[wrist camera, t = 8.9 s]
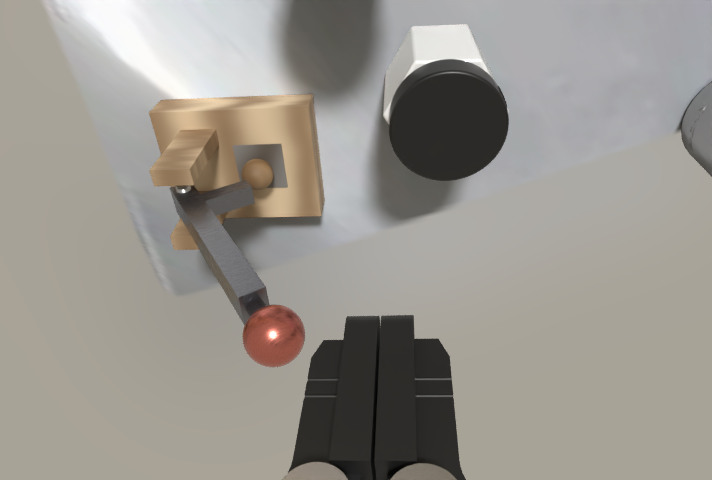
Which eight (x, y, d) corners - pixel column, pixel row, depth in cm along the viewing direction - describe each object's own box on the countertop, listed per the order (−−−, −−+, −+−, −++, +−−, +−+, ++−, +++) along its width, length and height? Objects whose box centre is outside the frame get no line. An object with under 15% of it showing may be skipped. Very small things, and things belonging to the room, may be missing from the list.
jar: (449, 135, 50) (462, 204, 41) (371, 94, 49) (365, 156, 39) (508, 48, 45) (539, 101, 36) (424, -1, 44) (432, 41, 34)
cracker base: (312, 94, 49) (294, 145, 40) (324, 199, 55) (311, 263, 47) (161, 100, 50) (112, 151, 41) (189, 202, 56) (152, 265, 48)
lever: (235, 158, 47) (361, 293, 31) (244, 200, 49) (365, 345, 34) (155, 181, 44) (249, 341, 29) (169, 224, 47) (262, 393, 31)
